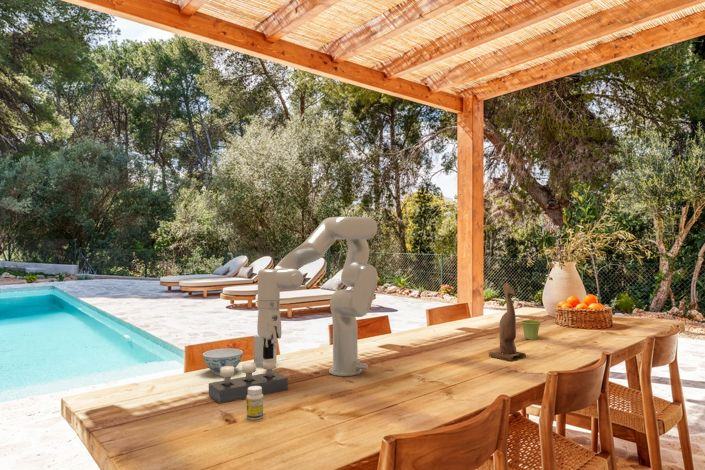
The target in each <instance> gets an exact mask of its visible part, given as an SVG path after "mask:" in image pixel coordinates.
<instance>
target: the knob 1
mask: <svg viewBox="0 0 705 470" xmlns="http://www.w3.org/2000/svg"><path fill="white" fill-rule="evenodd" d="M219 376H220V377H222V378H223V381H224V386H229V385H231V379H232V378H231V377H234V376H235V368H234V367H233V366H224V367H221V368H220V375H219Z"/></svg>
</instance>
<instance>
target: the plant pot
mask: <svg viewBox="0 0 705 470" xmlns="http://www.w3.org/2000/svg"><path fill="white" fill-rule="evenodd" d="M520 323H521V325H522V329H523V334H524V335H523V337H524V339H525V340H527V339H528V340H530V341H531V340H532V341H533V340H534V341H535V340H538V335H539V329H540V326H541V321H538V320H533V319H528V320H527V319H525V320H524V319H523V320H521V321H520Z"/></svg>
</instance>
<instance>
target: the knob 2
mask: <svg viewBox="0 0 705 470" xmlns="http://www.w3.org/2000/svg"><path fill="white" fill-rule="evenodd" d="M276 368H277V359H276V360H273V359H268V360H264V361H263V367H262V369H263V370H266V371H265V373H266V374H267V378H272V372H273V370H274V369H276Z"/></svg>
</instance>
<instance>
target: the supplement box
mask: <svg viewBox="0 0 705 470" xmlns="http://www.w3.org/2000/svg"><path fill="white" fill-rule="evenodd" d="M271 338H272V337H271ZM264 360H268V359H264V358H263V345H262V340H261V339H260V336H259V335H258V334H256V335H253V363H255V364H256V368H263V361H264ZM273 360H276V361H277V343H274V355H273Z"/></svg>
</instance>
